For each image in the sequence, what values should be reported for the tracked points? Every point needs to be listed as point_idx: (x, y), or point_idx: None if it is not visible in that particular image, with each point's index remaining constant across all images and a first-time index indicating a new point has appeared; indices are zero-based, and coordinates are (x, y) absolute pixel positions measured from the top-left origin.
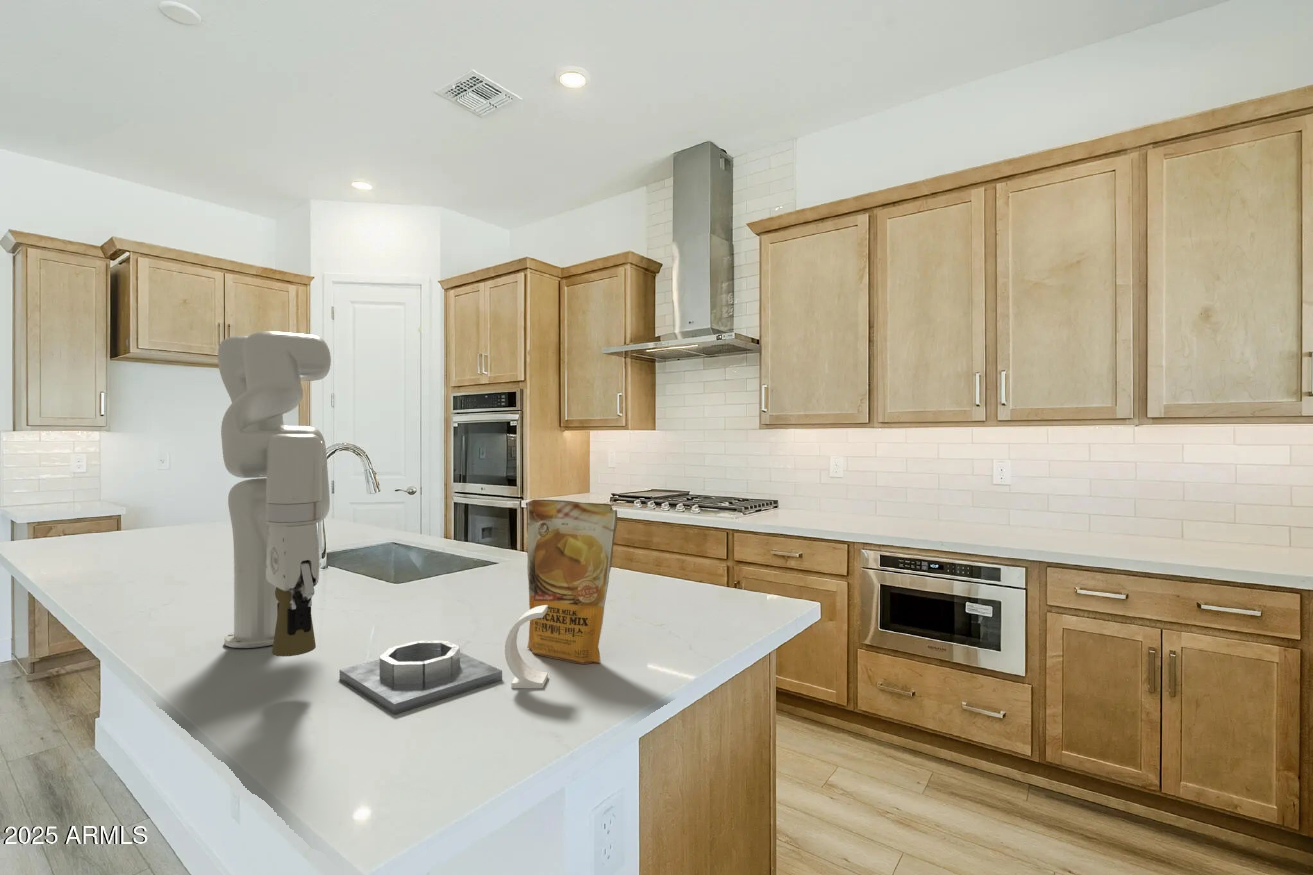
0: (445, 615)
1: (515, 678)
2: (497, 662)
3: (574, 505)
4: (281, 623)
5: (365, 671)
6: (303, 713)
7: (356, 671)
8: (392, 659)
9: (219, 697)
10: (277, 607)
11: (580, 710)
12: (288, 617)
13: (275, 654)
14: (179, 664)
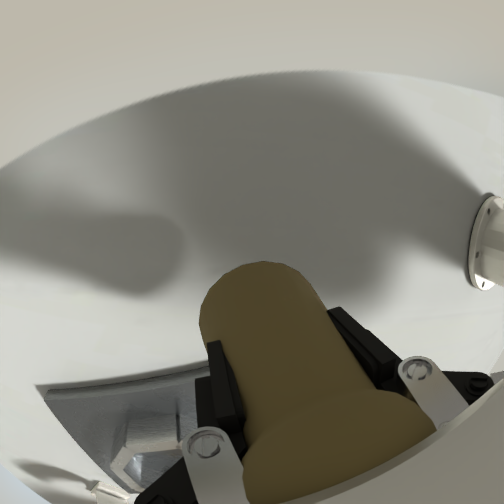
0: None
1: (111, 490)
2: None
3: None
4: (249, 342)
5: None
6: (97, 283)
7: None
8: (154, 450)
9: (294, 141)
10: (380, 346)
11: (36, 479)
12: (212, 389)
13: (233, 271)
14: (465, 130)
